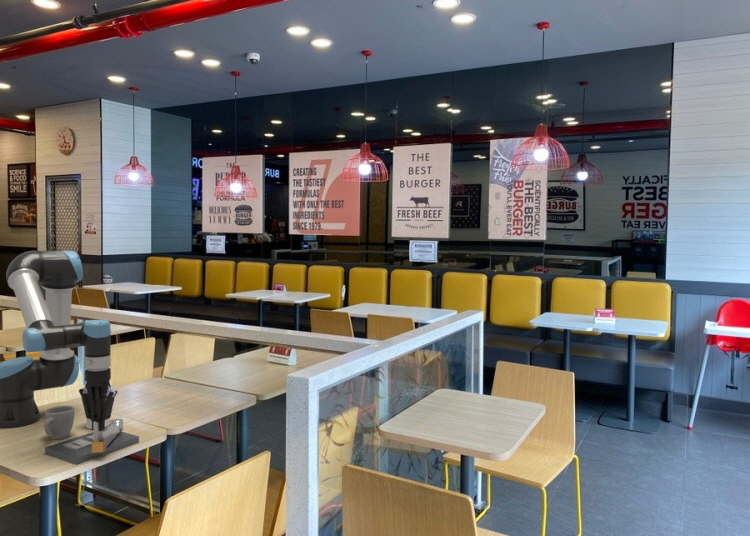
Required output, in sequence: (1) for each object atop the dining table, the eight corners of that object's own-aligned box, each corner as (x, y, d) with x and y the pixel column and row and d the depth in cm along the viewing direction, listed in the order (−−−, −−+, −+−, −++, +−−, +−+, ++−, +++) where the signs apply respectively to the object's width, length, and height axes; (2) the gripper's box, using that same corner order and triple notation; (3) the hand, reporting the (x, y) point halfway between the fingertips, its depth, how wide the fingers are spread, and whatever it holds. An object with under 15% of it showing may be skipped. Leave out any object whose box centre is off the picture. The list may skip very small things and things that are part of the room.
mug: (56, 431, 201) (55, 405, 200) (80, 432, 200) (79, 405, 200) (33, 444, 189) (32, 415, 188) (58, 445, 188) (58, 416, 188)
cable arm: (113, 428, 197) (113, 419, 197) (124, 428, 197) (124, 418, 197) (91, 452, 175) (91, 441, 175) (103, 452, 176) (103, 441, 176)
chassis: (44, 453, 181) (44, 446, 181) (107, 433, 200) (107, 426, 200) (76, 464, 172) (76, 456, 172) (138, 442, 191) (138, 435, 191)
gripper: (72, 369, 180) (72, 442, 181) (106, 372, 177) (107, 446, 178) (89, 364, 187) (89, 434, 189) (123, 367, 184) (123, 438, 185)
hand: (98, 440), depth 183 cm, fingers closed
